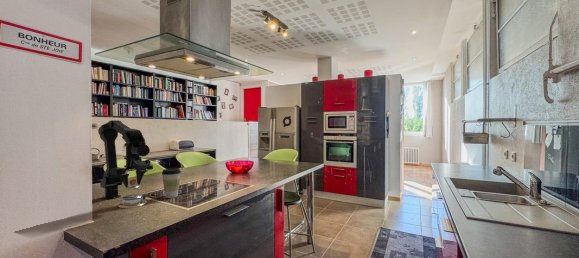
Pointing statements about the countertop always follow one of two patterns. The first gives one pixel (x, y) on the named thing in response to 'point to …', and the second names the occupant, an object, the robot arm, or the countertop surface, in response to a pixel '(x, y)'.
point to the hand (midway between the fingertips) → (132, 185)
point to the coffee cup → (171, 182)
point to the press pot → (133, 201)
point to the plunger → (133, 185)
